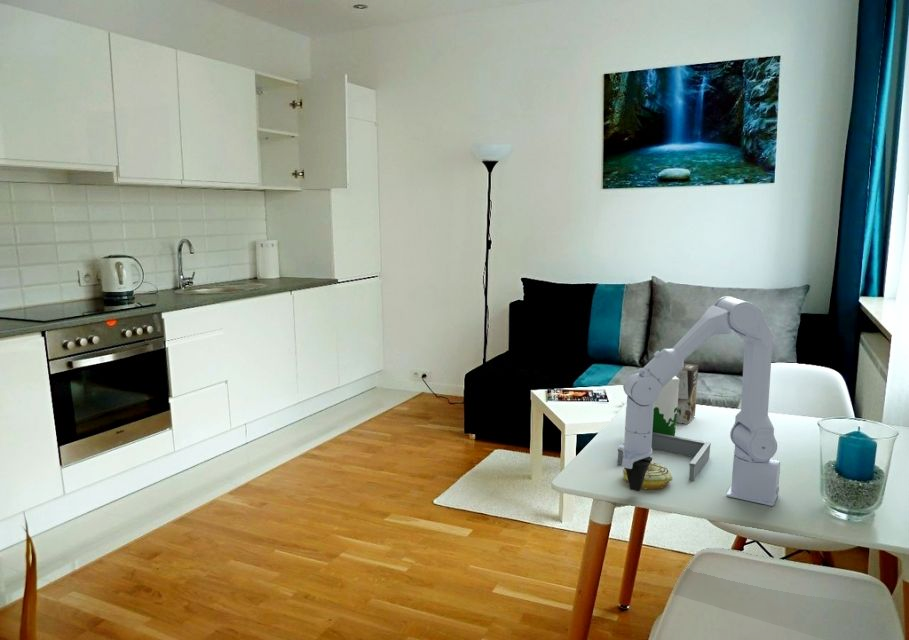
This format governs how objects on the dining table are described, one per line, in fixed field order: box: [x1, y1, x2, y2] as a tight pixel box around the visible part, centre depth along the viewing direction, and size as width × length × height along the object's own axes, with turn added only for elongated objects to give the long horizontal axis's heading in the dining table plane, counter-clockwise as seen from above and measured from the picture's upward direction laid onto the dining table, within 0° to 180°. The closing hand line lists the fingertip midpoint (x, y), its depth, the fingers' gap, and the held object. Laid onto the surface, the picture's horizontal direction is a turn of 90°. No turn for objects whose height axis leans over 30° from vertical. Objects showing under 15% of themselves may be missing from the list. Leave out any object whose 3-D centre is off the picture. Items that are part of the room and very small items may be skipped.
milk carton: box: [652, 376, 680, 436], centre depth 183 cm, size 9×9×20 cm
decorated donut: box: [622, 461, 673, 490], centre depth 156 cm, size 10×11×4 cm
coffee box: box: [675, 363, 699, 425], centre depth 201 cm, size 9×6×16 cm
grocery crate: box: [617, 432, 712, 482], centre depth 169 cm, size 18×17×4 cm
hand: (635, 489), depth 149 cm, fingers closed
